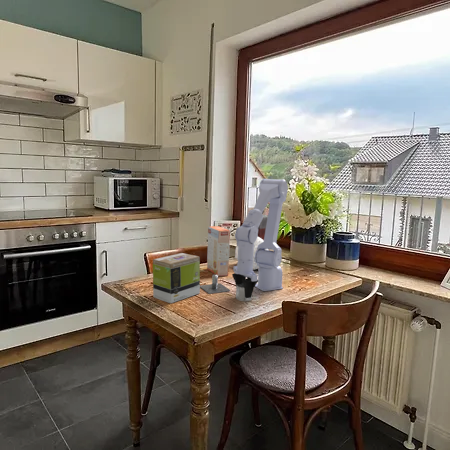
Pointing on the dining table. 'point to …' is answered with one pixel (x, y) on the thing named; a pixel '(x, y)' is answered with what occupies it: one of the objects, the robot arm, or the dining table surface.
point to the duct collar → (241, 293)
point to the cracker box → (218, 250)
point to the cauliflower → (253, 253)
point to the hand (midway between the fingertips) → (244, 294)
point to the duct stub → (214, 286)
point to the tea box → (176, 277)
